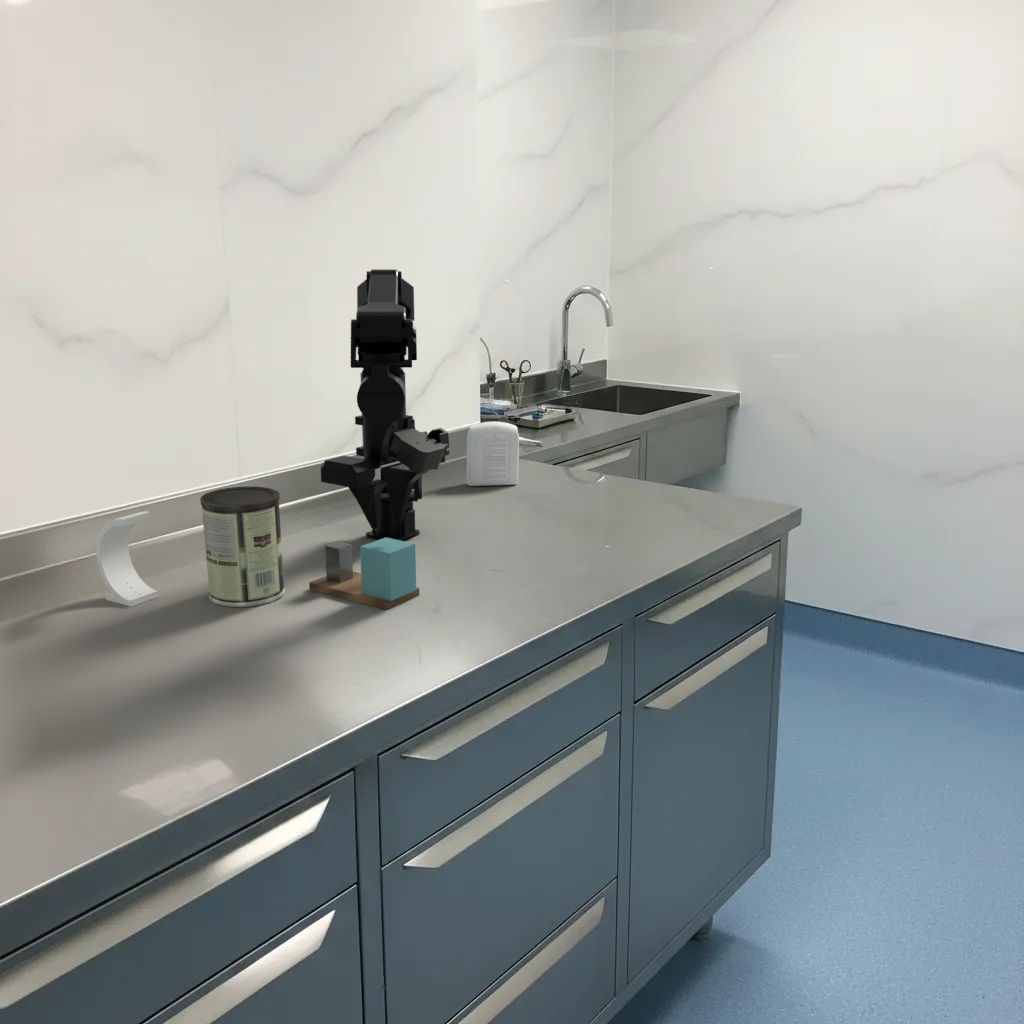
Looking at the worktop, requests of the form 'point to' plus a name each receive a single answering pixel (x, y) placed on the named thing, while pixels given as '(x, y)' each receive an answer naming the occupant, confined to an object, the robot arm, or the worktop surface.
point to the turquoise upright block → (388, 568)
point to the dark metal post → (339, 562)
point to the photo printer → (492, 454)
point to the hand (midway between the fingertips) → (386, 524)
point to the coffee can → (243, 546)
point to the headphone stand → (121, 562)
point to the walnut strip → (356, 592)
